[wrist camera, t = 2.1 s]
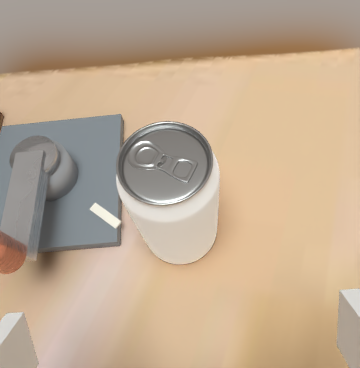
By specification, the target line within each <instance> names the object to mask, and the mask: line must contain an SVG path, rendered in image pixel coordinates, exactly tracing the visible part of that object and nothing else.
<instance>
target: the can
mask: <svg viewBox="0 0 360 368" xmlns="http://www.w3.org/2000/svg"><path fill="white" fill-rule="evenodd" d="M116 172H117V175H116V184H117V189H118V193H119V196H120V198H121V200H122V202H123V204H124V206H125V208H126V209H127V211H128V213H129V215H130V216H131V218H132V220H133V221H134V223H135V225H136V227H137V228H138V230H139V232H140V233H141V235H142V237H143V238H144V240H145V242H146V243H147V245H148V246H149V248H150V249H151V251H152V252H153V253H154V254H155V255H156V256H157V257H158V258H160V259H161V260H163V261H165V262H168V263H171V264H188V263H192V262H195V261H197V260H199V259H200V258H202V257H203V256H204V255H205V254H207V252H208V251H209V250H210V249H211V247H212V246H213V244H214V241H215V238H216V234H217V225H218V208H219V188H220V172H219V166H218V162H217V159H216V157H215V155H214V153H213V152H212V150H211V147H210V145H209V143H208V141H207V140H206V138H205V137H204V136H203V135H202V134H201V133H200V132H199V131H197V130H196V129H194V128H193V127H191V126H189V125H186V124H183V123H179V122H171V121H165V122H157V123H153V124H150V125H147V126H145V127H143V128H141V129H139V130H137V131H136V132H134V133H133V134H132V135H131V136H130V137H129V138H128V139H127V140H126V141H125V142H124V144H123V145H122V147H121V149H120V151H119V153H118V156H117V161H116Z"/></svg>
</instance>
